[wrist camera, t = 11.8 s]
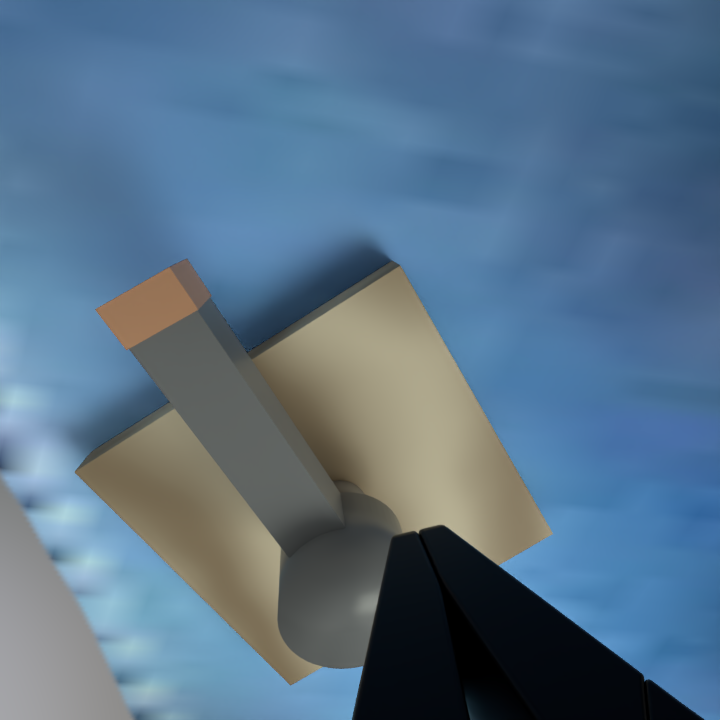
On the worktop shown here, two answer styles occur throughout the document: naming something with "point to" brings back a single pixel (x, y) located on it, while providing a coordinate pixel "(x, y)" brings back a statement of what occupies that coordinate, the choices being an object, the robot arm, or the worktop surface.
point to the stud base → (326, 456)
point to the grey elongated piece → (263, 465)
